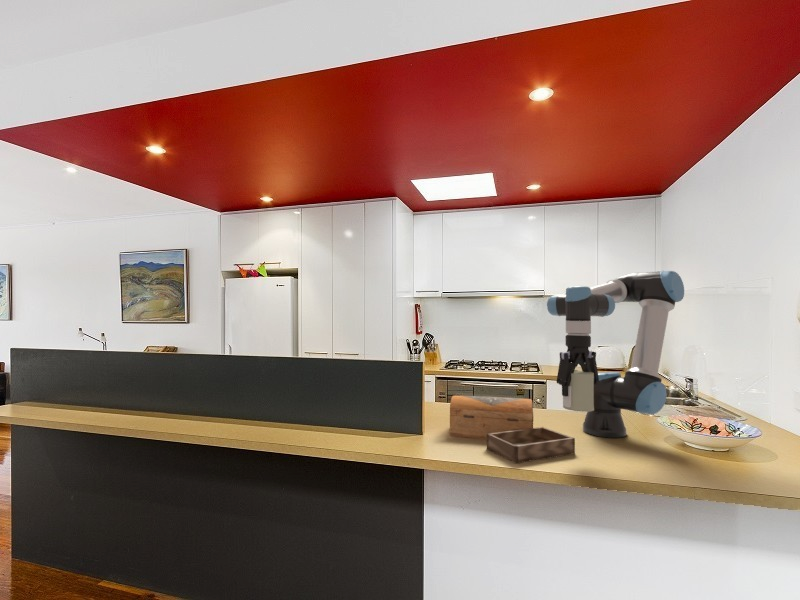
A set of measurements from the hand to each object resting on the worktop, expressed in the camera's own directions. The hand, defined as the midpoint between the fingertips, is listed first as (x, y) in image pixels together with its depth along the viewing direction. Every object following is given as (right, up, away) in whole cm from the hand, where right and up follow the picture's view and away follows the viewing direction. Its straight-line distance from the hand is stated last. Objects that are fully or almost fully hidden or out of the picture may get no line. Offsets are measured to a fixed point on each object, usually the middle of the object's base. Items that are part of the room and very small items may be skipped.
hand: (578, 405), depth 136 cm
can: (0, -1, 0) cm, 1 cm away
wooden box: (-22, -18, +26) cm, 39 cm away
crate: (-14, -17, +6) cm, 22 cm away
